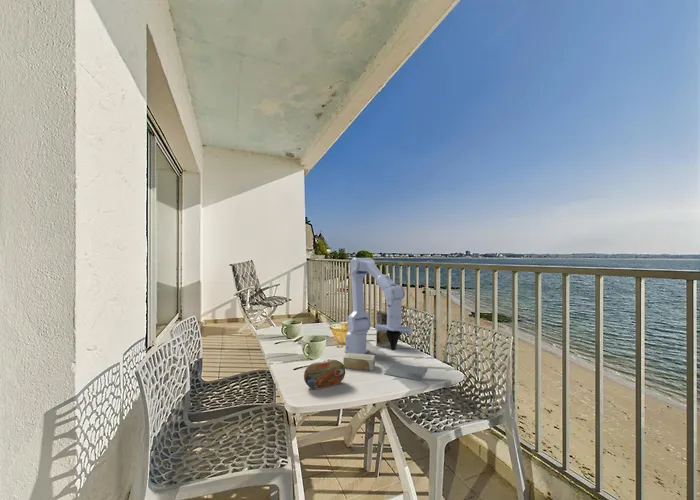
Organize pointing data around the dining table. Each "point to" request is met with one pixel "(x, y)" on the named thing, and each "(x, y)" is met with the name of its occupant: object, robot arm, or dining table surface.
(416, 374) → the mat
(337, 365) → the tin
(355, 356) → the skincare box
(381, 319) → the coffee box
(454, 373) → the dining table surface
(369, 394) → the dining table surface
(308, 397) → the dining table surface
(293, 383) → the dining table surface
